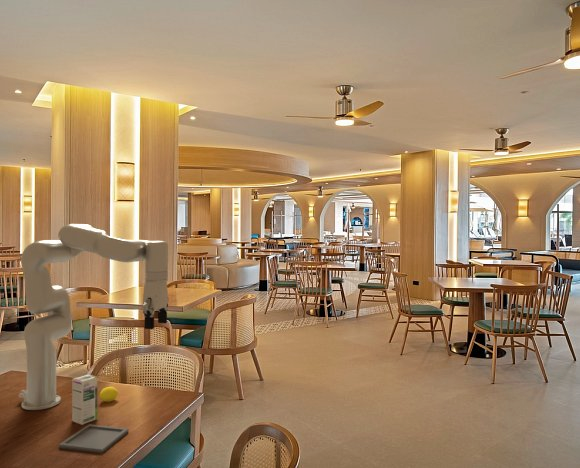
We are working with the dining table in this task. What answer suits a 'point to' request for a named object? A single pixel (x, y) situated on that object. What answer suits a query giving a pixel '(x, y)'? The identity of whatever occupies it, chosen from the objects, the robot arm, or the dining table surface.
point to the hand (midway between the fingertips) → (156, 325)
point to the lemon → (108, 394)
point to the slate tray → (94, 438)
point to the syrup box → (84, 399)
